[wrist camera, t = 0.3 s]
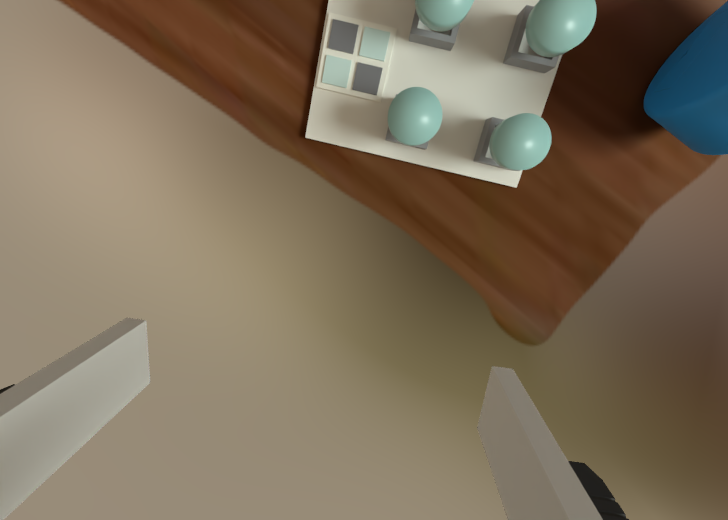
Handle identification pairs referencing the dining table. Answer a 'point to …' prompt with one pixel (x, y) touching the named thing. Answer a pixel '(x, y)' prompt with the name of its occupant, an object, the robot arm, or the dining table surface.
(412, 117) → the button
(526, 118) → the button
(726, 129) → the alarm clock
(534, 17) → the button
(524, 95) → the board
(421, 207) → the dining table surface
